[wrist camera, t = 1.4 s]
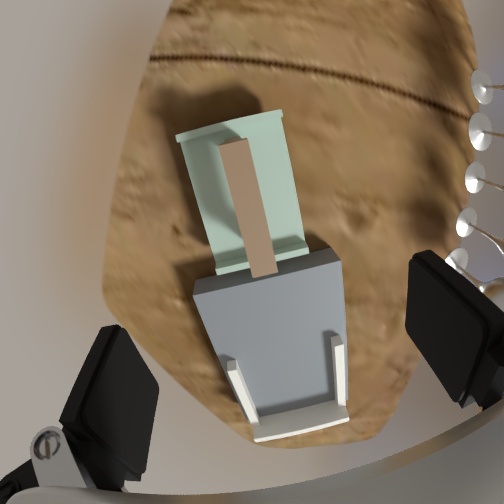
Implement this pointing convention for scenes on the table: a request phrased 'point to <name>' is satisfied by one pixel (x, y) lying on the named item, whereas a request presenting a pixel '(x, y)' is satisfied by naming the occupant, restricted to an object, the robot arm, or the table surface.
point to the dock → (282, 342)
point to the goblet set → (480, 135)
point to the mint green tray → (245, 192)
